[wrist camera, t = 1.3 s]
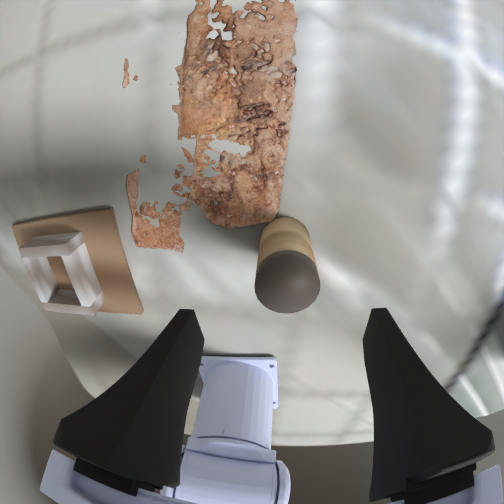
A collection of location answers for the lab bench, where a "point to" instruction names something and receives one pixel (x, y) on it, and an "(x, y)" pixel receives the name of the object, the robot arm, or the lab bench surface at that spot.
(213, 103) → the bark
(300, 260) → the wood peg
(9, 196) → the lab bench surface
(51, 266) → the holder board
